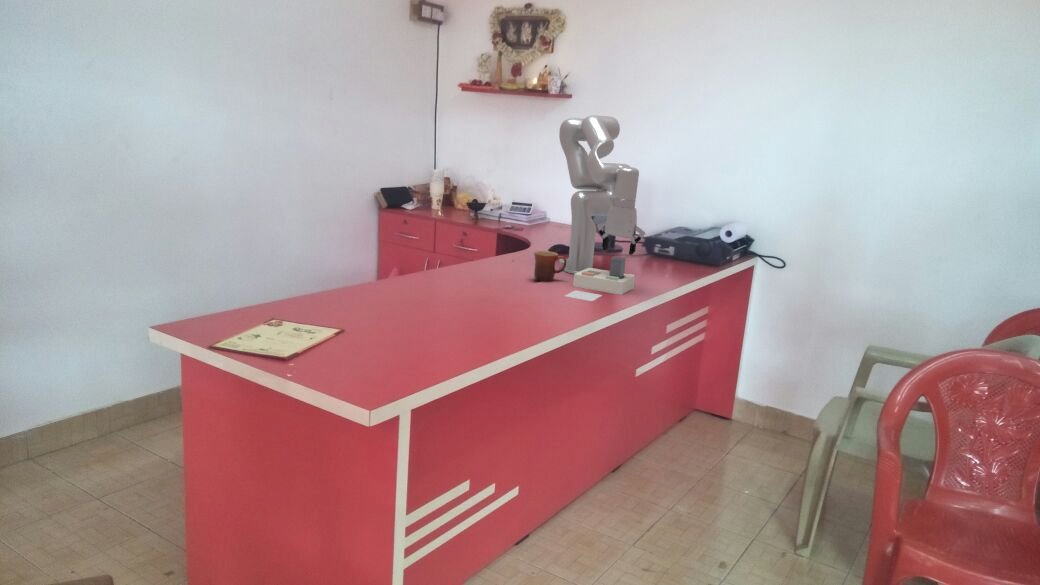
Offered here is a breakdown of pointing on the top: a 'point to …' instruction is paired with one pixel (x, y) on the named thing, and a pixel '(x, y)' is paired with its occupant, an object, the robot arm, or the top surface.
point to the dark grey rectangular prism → (617, 267)
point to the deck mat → (583, 295)
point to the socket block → (603, 281)
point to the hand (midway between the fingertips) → (618, 251)
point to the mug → (546, 265)
